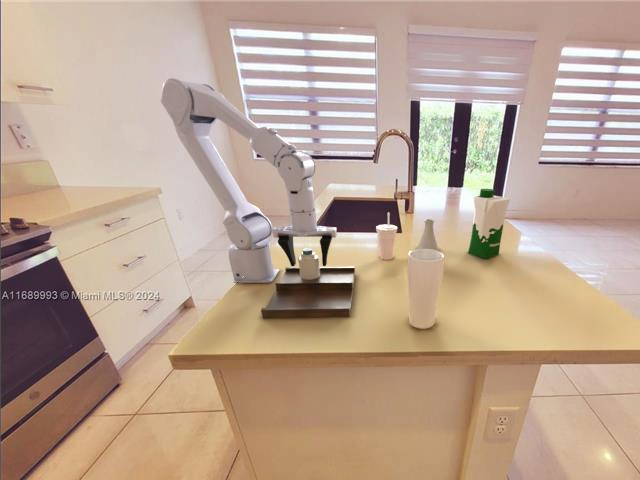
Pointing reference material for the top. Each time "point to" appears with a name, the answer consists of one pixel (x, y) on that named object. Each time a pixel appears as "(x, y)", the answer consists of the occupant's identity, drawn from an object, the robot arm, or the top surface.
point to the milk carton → (487, 224)
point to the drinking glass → (424, 286)
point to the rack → (312, 294)
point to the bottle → (309, 265)
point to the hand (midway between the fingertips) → (309, 264)
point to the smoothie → (386, 239)
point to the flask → (428, 237)
